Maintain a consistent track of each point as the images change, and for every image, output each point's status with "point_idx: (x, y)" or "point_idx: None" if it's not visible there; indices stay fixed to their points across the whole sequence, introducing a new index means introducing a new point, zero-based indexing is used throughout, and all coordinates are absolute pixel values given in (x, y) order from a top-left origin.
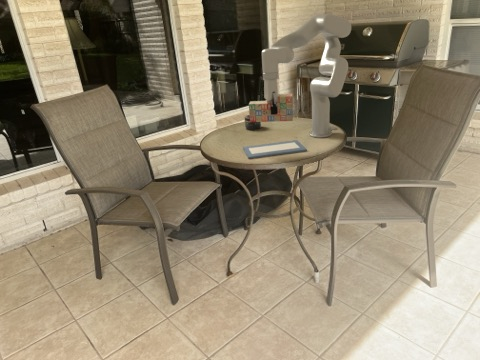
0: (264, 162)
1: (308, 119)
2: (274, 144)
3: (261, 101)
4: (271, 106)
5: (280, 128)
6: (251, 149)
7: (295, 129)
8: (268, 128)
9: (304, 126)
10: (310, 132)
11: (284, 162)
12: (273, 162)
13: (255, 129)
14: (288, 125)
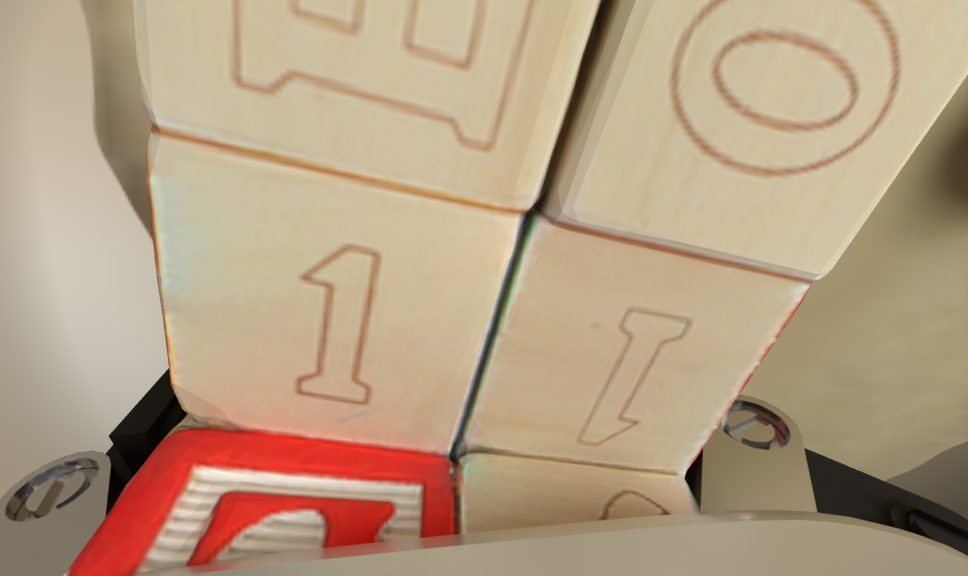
0: (130, 19)
1: (915, 465)
2: None
3: (708, 242)
4: (91, 455)
5: (889, 298)
6: None
7: (794, 377)
8: (963, 217)
9: (811, 428)
10: None
11: (136, 188)
12: (133, 103)
13: None
14: (906, 355)
